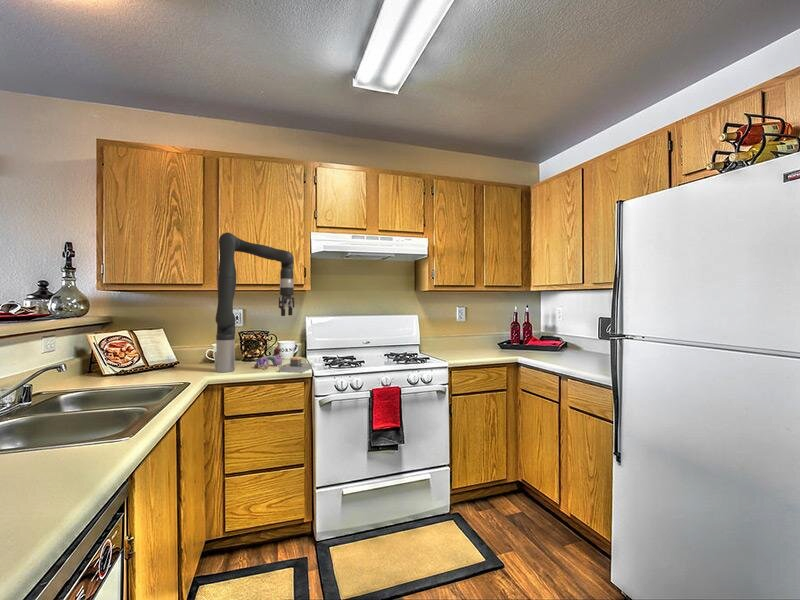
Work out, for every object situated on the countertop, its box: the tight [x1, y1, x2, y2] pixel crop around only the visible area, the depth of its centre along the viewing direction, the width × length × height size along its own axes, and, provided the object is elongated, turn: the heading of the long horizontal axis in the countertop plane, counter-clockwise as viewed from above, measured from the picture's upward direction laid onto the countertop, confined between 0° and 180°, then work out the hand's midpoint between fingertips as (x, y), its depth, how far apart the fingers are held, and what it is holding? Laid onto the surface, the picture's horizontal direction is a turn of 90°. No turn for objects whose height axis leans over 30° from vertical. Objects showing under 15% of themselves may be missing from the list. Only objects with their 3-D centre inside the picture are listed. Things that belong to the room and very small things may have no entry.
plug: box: [289, 356, 302, 366], centre depth 213 cm, size 4×4×7 cm
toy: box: [253, 347, 283, 370], centre depth 225 cm, size 10×15×15 cm
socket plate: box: [278, 362, 313, 374], centre depth 213 cm, size 13×13×3 cm
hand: (286, 315), depth 217 cm, fingers open, 8 cm apart
